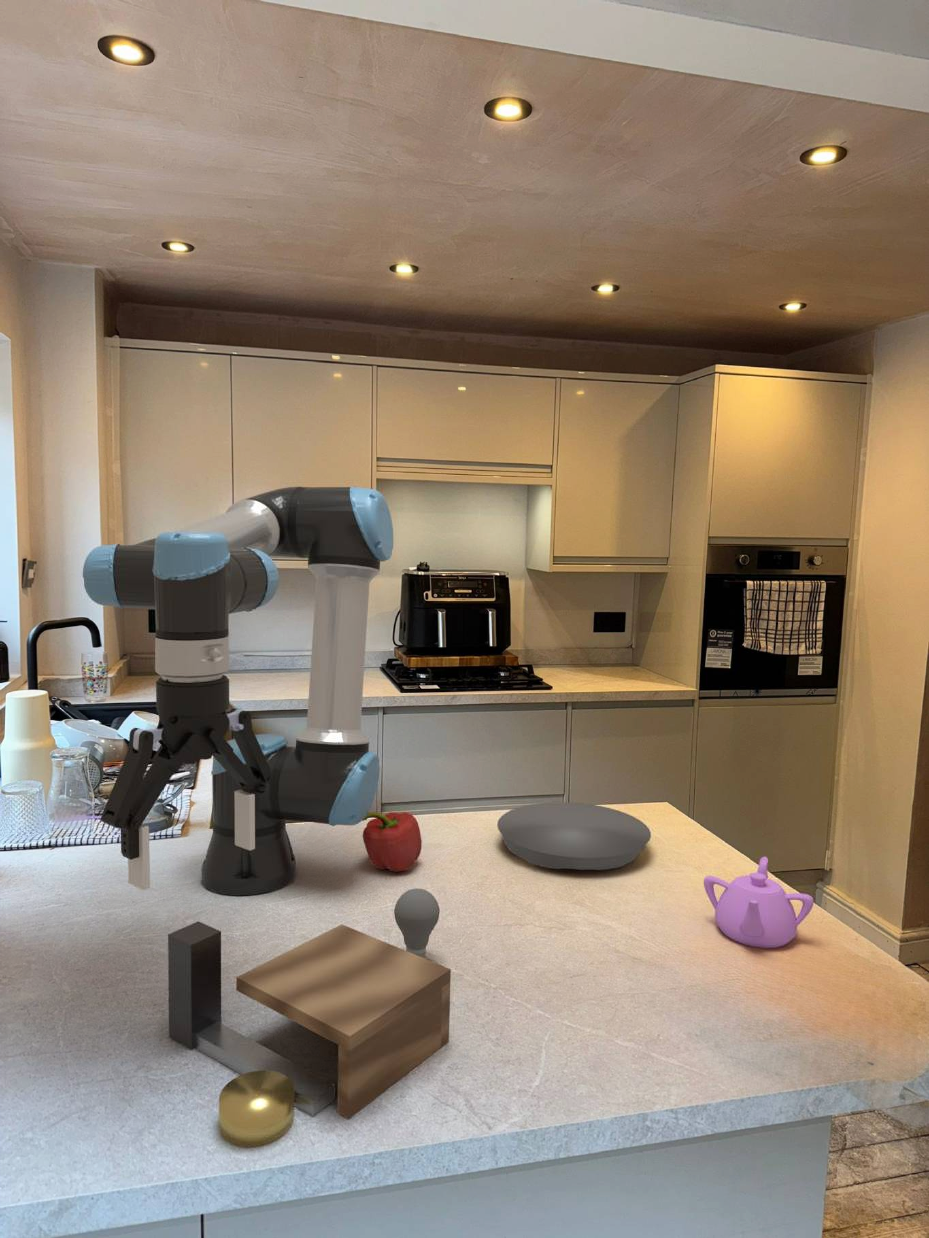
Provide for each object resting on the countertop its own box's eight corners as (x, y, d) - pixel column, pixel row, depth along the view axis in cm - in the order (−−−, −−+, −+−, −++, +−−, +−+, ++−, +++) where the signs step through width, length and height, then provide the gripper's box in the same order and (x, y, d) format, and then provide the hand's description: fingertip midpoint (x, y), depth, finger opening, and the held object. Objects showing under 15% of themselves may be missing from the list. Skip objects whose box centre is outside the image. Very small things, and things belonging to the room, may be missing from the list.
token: (203, 1128, 79) (203, 1098, 78) (259, 1089, 84) (259, 1061, 84) (253, 1160, 75) (253, 1129, 74) (309, 1117, 80) (309, 1088, 80)
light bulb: (444, 956, 112) (446, 885, 111) (428, 977, 106) (430, 903, 105) (403, 948, 114) (405, 878, 113) (385, 968, 108) (387, 895, 107)
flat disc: (503, 819, 168) (504, 798, 168) (643, 828, 164) (644, 807, 164) (488, 876, 141) (489, 850, 140) (656, 889, 137) (657, 863, 136)
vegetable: (368, 883, 135) (369, 823, 134) (351, 860, 144) (352, 804, 143) (430, 874, 139) (432, 816, 138) (410, 852, 149) (411, 798, 148)
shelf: (236, 1051, 90) (236, 977, 89) (340, 989, 103) (341, 924, 102) (348, 1118, 80) (349, 1036, 79) (448, 1041, 93) (450, 969, 92)
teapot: (761, 909, 129) (765, 854, 128) (822, 952, 116) (826, 891, 115) (694, 916, 126) (697, 860, 125) (748, 961, 113) (752, 899, 112)
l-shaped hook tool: (168, 1036, 92) (168, 934, 91) (198, 1020, 96) (198, 921, 94) (309, 1119, 80) (310, 1001, 79) (338, 1097, 83) (339, 983, 82)
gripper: (102, 697, 77) (107, 915, 79) (303, 665, 97) (303, 840, 99) (60, 687, 81) (66, 893, 83) (261, 658, 101) (262, 826, 103)
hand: (195, 865), depth 91 cm, fingers open, 13 cm apart
